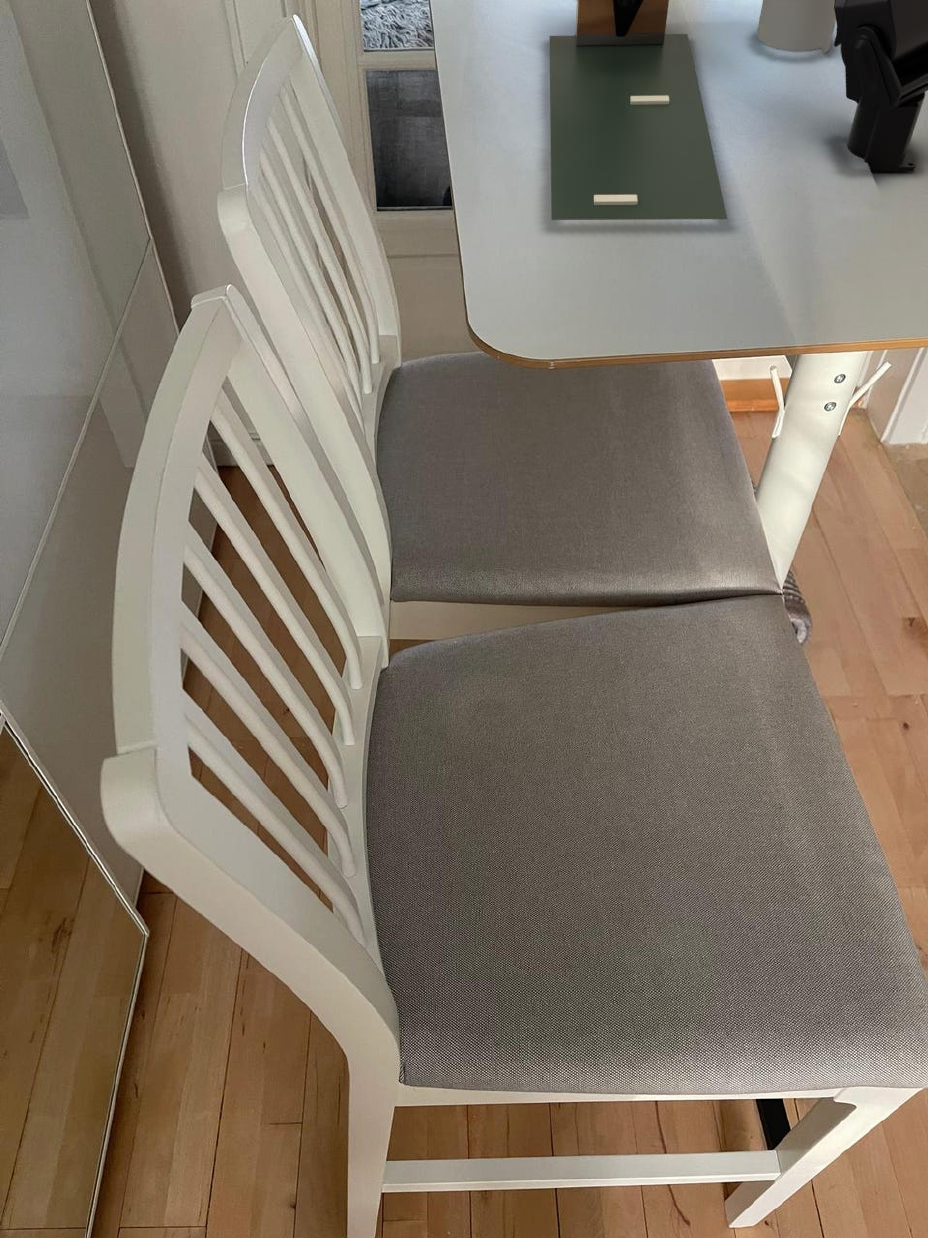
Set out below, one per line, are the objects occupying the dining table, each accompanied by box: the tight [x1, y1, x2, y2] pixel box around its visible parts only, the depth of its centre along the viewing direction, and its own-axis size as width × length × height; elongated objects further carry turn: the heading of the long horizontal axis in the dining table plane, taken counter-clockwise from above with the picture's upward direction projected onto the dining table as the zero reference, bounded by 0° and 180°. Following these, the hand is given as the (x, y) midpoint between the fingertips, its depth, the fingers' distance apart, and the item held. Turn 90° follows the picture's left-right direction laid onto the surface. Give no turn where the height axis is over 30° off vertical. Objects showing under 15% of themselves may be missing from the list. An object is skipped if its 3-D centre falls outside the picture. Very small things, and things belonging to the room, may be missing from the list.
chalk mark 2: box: [630, 96, 669, 105], centre depth 104 cm, size 1×4×1 cm, turn 88°
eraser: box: [574, 0, 670, 46], centre depth 112 cm, size 4×10×5 cm, turn 87°
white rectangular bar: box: [594, 195, 638, 205], centre depth 92 cm, size 1×4×1 cm, turn 87°
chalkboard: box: [548, 33, 728, 221], centre depth 103 cm, size 40×16×1 cm, turn 177°
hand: (619, 27), depth 113 cm, fingers closed on eraser, 4 cm apart
